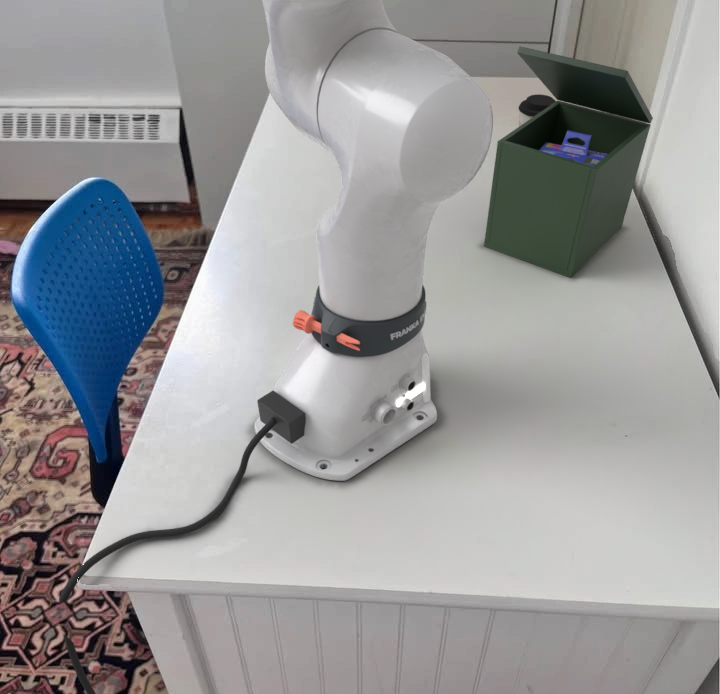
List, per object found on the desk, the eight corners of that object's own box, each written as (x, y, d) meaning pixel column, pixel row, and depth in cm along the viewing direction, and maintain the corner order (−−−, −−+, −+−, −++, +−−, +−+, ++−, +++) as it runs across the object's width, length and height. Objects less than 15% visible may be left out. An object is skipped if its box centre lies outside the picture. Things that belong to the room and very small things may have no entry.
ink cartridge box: (592, 232, 111) (617, 136, 100) (582, 249, 107) (606, 152, 97) (531, 217, 114) (548, 123, 103) (519, 233, 111) (535, 137, 100)
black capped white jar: (503, 159, 129) (511, 101, 122) (524, 146, 133) (533, 88, 125) (537, 171, 126) (547, 111, 119) (557, 157, 130) (568, 98, 122)
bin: (570, 277, 104) (596, 170, 92) (483, 246, 110) (497, 141, 98) (621, 228, 113) (651, 124, 101) (538, 201, 119) (557, 100, 107)
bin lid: (624, 77, 85) (627, 70, 85) (516, 52, 91) (519, 45, 91) (650, 123, 101) (653, 117, 101) (556, 99, 107) (559, 94, 107)
